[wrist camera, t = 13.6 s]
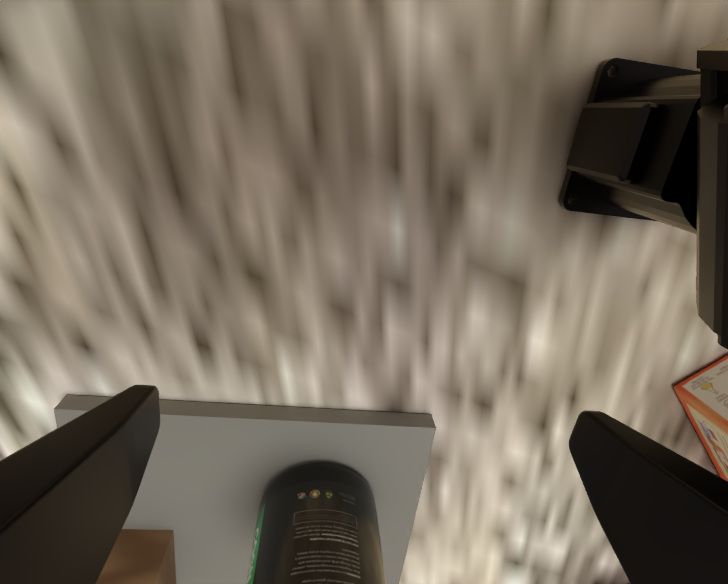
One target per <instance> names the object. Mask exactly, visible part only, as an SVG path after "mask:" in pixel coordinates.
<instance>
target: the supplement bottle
mask: <svg viewBox="0 0 728 584" xmlns="http://www.w3.org/2000/svg"><path fill="white" fill-rule="evenodd" d="M246 584H386V578H385V570H384V563H383V555H382V547H381V539H380V531H379V524H378V516H377V510H376V503H375V499H374V495H373V493H372V491H371V489H370V487H369V485H368V484H367V483H366V482H365V480H364V479H363V478H362V477H360V476H359V475H358V474H357V473H355V472H353V471H352V470H350V469H348V468H345V467H343V466H339V465H336V464H330V463H310V464H305V465H301V466H297V467H295V468H292V469H290V470H288V471H286V472H284V473H283V474H281V475H280V476H278V477H277V478H276V479H275V480H274V481H273V482H272V483H271V484H270V485H269V486H268V487H267V489H266V490H265V492H264V494H263V496H262V498H261V501H260V505H259V510H258V515H257V521H256V526H255V532H254V538H253V544H252V550H251V556H250V562H249V568H248V574H247V580H246Z"/></svg>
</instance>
